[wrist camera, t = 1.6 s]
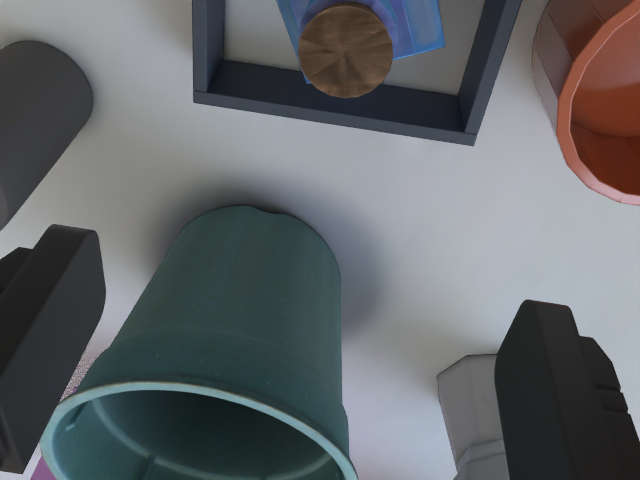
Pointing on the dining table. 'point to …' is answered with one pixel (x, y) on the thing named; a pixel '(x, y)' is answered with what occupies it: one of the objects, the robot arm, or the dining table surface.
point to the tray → (358, 112)
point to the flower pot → (218, 365)
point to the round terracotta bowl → (593, 90)
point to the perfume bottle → (358, 39)
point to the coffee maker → (473, 418)
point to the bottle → (36, 117)
